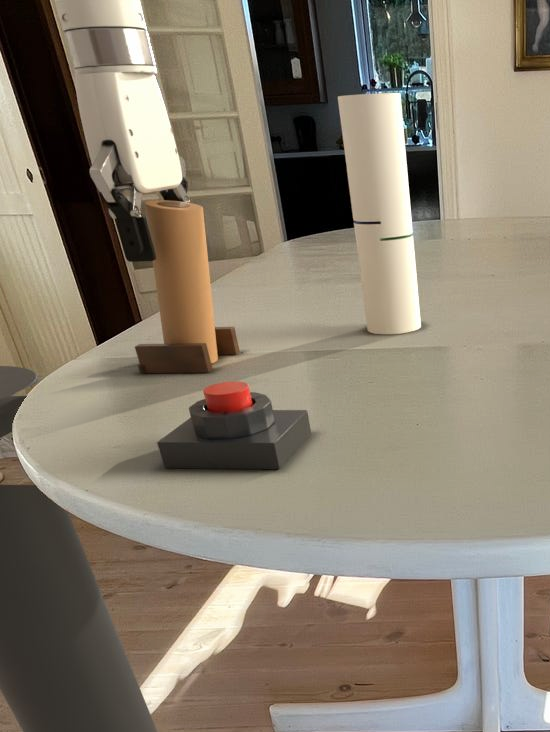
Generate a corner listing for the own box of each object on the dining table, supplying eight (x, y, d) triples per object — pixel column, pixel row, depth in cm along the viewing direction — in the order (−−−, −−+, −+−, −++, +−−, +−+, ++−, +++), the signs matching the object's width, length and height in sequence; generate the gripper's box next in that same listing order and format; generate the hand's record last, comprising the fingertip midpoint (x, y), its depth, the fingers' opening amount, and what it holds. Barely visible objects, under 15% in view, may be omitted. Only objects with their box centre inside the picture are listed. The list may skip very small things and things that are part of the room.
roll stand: (240, 352, 91) (234, 326, 90) (208, 373, 84) (201, 345, 82) (176, 352, 92) (169, 327, 91) (139, 373, 85) (131, 346, 83)
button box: (164, 468, 61) (149, 420, 58) (207, 433, 67) (195, 389, 65) (279, 469, 59) (269, 420, 57) (311, 434, 66) (303, 389, 63)
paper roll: (225, 355, 90) (212, 205, 81) (205, 369, 85) (187, 211, 76) (180, 348, 90) (161, 197, 81) (157, 361, 86) (133, 203, 76)
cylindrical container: (377, 321, 102) (350, 97, 87) (427, 321, 100) (408, 93, 86) (360, 334, 96) (328, 96, 82) (412, 334, 95) (389, 92, 80)
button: (201, 416, 60) (195, 394, 59) (219, 402, 63) (214, 381, 62) (242, 416, 59) (237, 394, 58) (259, 402, 62) (255, 381, 61)
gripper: (124, 63, 79) (170, 243, 89) (20, 54, 65) (89, 268, 75) (189, 59, 78) (228, 241, 88) (98, 48, 64) (157, 266, 74)
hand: (164, 253), depth 81 cm, fingers open, 9 cm apart
